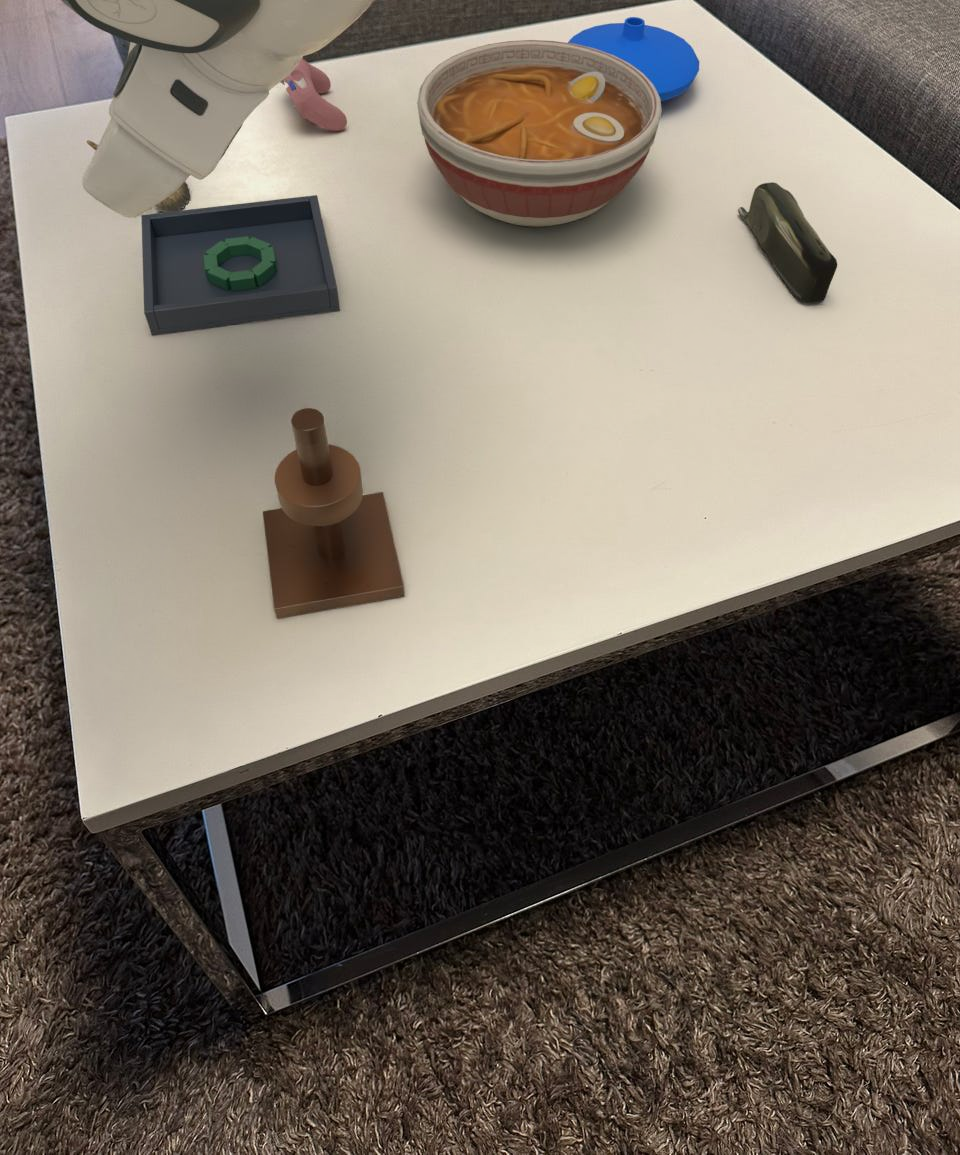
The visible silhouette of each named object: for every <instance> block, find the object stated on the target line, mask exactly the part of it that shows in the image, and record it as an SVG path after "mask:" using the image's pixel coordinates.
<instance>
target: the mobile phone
mask: <svg viewBox="0 0 960 1155" xmlns="http://www.w3.org/2000/svg"><path fill="white" fill-rule="evenodd" d="M737 212H738V214H739V215H740V216H741V218H742V220H743V221H744V222H745V223H746V225H748V227H749V228H750V229H751V231H752V233H753V235H754V236H755V238H756V239H757V242H758V243H759V245H760V247H761V248H762V249H763V251H764V253H765V255H767V257H768V258H769V260H770V261H771V263H772V265H773V267H774V268H775V270H776V272H777V273H778V275H779V276H780V277H781V279H782V281H783V282H784V285H786V287H787V289H788V290H789V292H790V293H791V294H792V296H794V298H796V299H797V300H799V301H800V302H803V303H807V304H815V303H822V302H823V301H825V299H826V297H827V294H828V291H829V288H830V286H831V284H832V280H833V278H834V276H835V273H836V271H837V269H838V260H837V259H836V257H835V256H834V255H833V254H832V253H831V252H830V250H829V249H828V247H827V246H826V245H825V243H824V242H823V241H822V239H821V238H820V236H819V235H818V233H817V232H816V231H815V229H814V227H813V226H812V225H811V224H810V222H809V221H808V220H807V219H806V217H805V215H804V212H803V210H802V209H801V207H800V205H799V203H798V200H797V199H796V198H795V197H794V195H793V193H791V191H789V190H787V189H785V188H784V187H782V186H781V185H780V184H778V183H777V182H765V183H760V184H759V185H758V186H756V187H755V189H754V191H753V194H752V197H751V200H750V205H749V209H748V211H747V209H746V208H744V207H743V206H740V207H738V209H737Z"/></svg>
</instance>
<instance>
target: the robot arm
mask: <svg viewBox="0 0 960 1155" xmlns="http://www.w3.org/2000/svg"><path fill="white" fill-rule="evenodd" d="M60 1H61V2H62V3H63V4H64V5H65V6H67V7H68V8H69V9H71V10H72V11H73V12H74V13H75V14H77V16H79V17H80V18H82V19H83V20H84V21H86V22H87V23H88V24H90V25H92V26H94V27H95V28H96V29H99V30H101V31H103V32H105V33H107V34H109V35H112V36H114V37H117V38H119V39H122V40H124V41H127V42H129V47H128V53H127V56H126V59H125V61H124V65H123V68H122V71H121V74H120V77H119V79H118V82H117V84H116V87H115V88H114V91H113V97H112V100H111V102H110V104H109V106H108V115H109V117H110V120H109V122H108V124H107V126H106V128H105V130H104V133H103V134H102V137H101V139H100V141H99V143H98V144H97V145H98V147H97V149H96V150H95V151H94V154H93V156H92V157H91V160H90V161H89V163H88V165H87V167H86V169H85V171H84V172H83V176H82V179H81V184H82V188H83V189H84V191H85V192H86V193H87V194H89V195H90V196H91V197H92V198H93V199H95V200H96V201H98V202H99V203H100V204H102V205H103V206H105V207H107V208H108V209H110V210H112V211H113V212H115V213H117V214H119V215H120V216H122V217H124V218H129V219H132V218H133V219H134V218H137V217H139V216H142V215H144V214H145V213H146V212H148V211H149V210H151V209H153V208H154V207H156V205H157V204H159V203H160V202H162V201H163V200H165V199H166V198H168V197H169V196H170V195H171V194H173V193H174V192H175V191H176V190H177V189H178V188H179V187H180V186H181V185H182V184H183V183H184V182H186V181H187V180H188V178H189V177H190V176H192V177H193V178H195V179H196V180H199V181H200V180H201V181H202V180H204V179H205V178H207V177H208V176H209V175H210V174H212V173H213V172H214V171H215V169H216V167H217V166H218V164H219V162H220V161H221V160H222V159H223V157H224V156H225V154H226V152H227V151H228V149H229V147H230V146H231V144H232V142H233V140H234V139H235V138H236V136H237V135H238V133H239V132H240V130H241V128H242V127H243V123H245V121H246V120H247V119H248V118H249V116H250V115H251V114H252V113H253V112H254V111H255V109H257V108H258V107H259V106H260V105H261V104H262V103H263V102H264V101H265V100H266V99H267V98H268V97H269V95H270V91H271V90H272V89H273V88H274V87H276V86H278V84H280V82H281V81H282V80H283V79H285V78H286V77H287V76H288V75H289V74H290V73H292V72H293V70H294V69H295V68H296V67H297V66H298V64H299V63H300V61H301V59H302V58H303V57H304V56H309V55H311V54H314V53H316V52H318V51H320V50H321V49H323V48H325V47H326V46H327V45H329V44H330V43H332V41H334V40H335V39H336V38H337V37H338V36H340V35H341V34H342V33H343V32H344V31H346V30H347V29H348V28H349V27H350V26H351V25H353V23H354V22H356V21H357V20H358V19H359V18H360V17H361V16H362V15H363V14H364V13H365V12H366V11H367V10H368V9H369V7H370V6H371V5H372V4H373V3H374V2H375V0H60Z"/></svg>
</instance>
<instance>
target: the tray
mask: <svg viewBox="0 0 960 1155" xmlns="http://www.w3.org/2000/svg"><path fill="white" fill-rule="evenodd" d="M319 202H320V201H319V198H318V195H317V194H315V195H304V196H297V197H287V198H278V199H270V200H262V201H253V202H244V203H235V204H234V203H233V204H226V205H216V206H208V207H201V208H200V207H199V208H192V209H181V210H180V211H173V212H156V213H150V214H141V215H140V216H141V251H142V252H141V253H142V283H143V285H142V286H143V313H144V317H145V319H146V322H147V325H148V328H149V331H150V332H149V333H150V335H151V336H156V335H157V336H158V335H164V334H172V333H180V332H181V333H182V332H188V331H195V330H203V329H211V328H218V327H219V328H220V327H225V326H232V325H233V326H235V325H240V324H248V323H255V322H264V321H272V320H278V319H279V320H280V319H285V318H293V317H302V316H309V315H318V314H324V313H331V312H332V313H333V312H339V311H341V306H340V299H339V292H338V285H337V281H336V276H335V272H334V266H333V262H332V257H331V253H330V248H329V244H328V239H327V235H326V230H325V226H324V221H323V216H322V211H321V206H320V203H319ZM245 236H248V237H249V239H250V238H252V237H255V238H257V239H259V240H262V241H264V242H266V243H269V244H271V247H273V248H274V254H275V259H276V266H277V272H275V273H276V274H275V275H274V276H273V277H272V278H270V279H269V280H268V281H267V282H265V283H264V284H263V285H262V286H259V285H256V288H254V289H247V290H239V291H232V289H231V288H230V289H229V290H225V289H223V288H221V287H219V286H216V285H214V284H212V283H210V282H209V280H207V277H206V273H205V268H204V257H203V256H204V255H206V254H205V252H206V251H208V250H209V249H210V248H212V247H213V246H214V245H216V244H217V243H218V242H220V241H223V242H225V239H229V238H237V237H245ZM261 261H262V260H260V259H258V258H256V257H253V256H251V255H242V256H234V257H230V258H229V259H227V260H226V261H225V262H224V263H222V264H221V265H220V266H219V267H220V268H223V269H225V270H227V271H229V272H239V271H247V270H251V269H253V268H254V267H255V266H256V265H258V264H259V263H260V262H261Z"/></svg>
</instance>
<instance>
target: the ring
mask: <svg viewBox="0 0 960 1155" xmlns="http://www.w3.org/2000/svg"><path fill="white" fill-rule="evenodd" d="M205 254H206V255H204V256H203V257H204V268H205V273H206V277H207V280H209V282H210V283H212V284H214V285H216V286H219V287H221V288H223V289H225V290H229V289H230V288H231V289H232V291H239V290H247V289H254V288H256V285H259V286H262V285H263V284H264V283H265V282H267V281H268V280H269V279H270V278H272V277H273V276H274V275H275V274H276V273H275V272H277V266H276V259H275V254H274V248H273V247H271V244H269V243H266V242H264V241H262V240H259V239H257V238H255V237H252V238H250V239H249V237H248V236H245V237H237V238H229V239H225V242H223V241H220V242H218V243H217V244H216V245H214V246H213V247H212V248H210V249H209V250H208V251H206V252H205ZM242 255H251V256H253V257H256V258H258V259H260V260H262V261H261V262H260V263H259V264H258V265H256V266H255V267H254V268H253V269H251V270H247V271H239V272H229V271H227V270H225V269H223V268H220V267H219V266H220V265H221V264H222V263H224V262H225V261H226V260H227V259H229V258H230V257H234V256H242Z"/></svg>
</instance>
